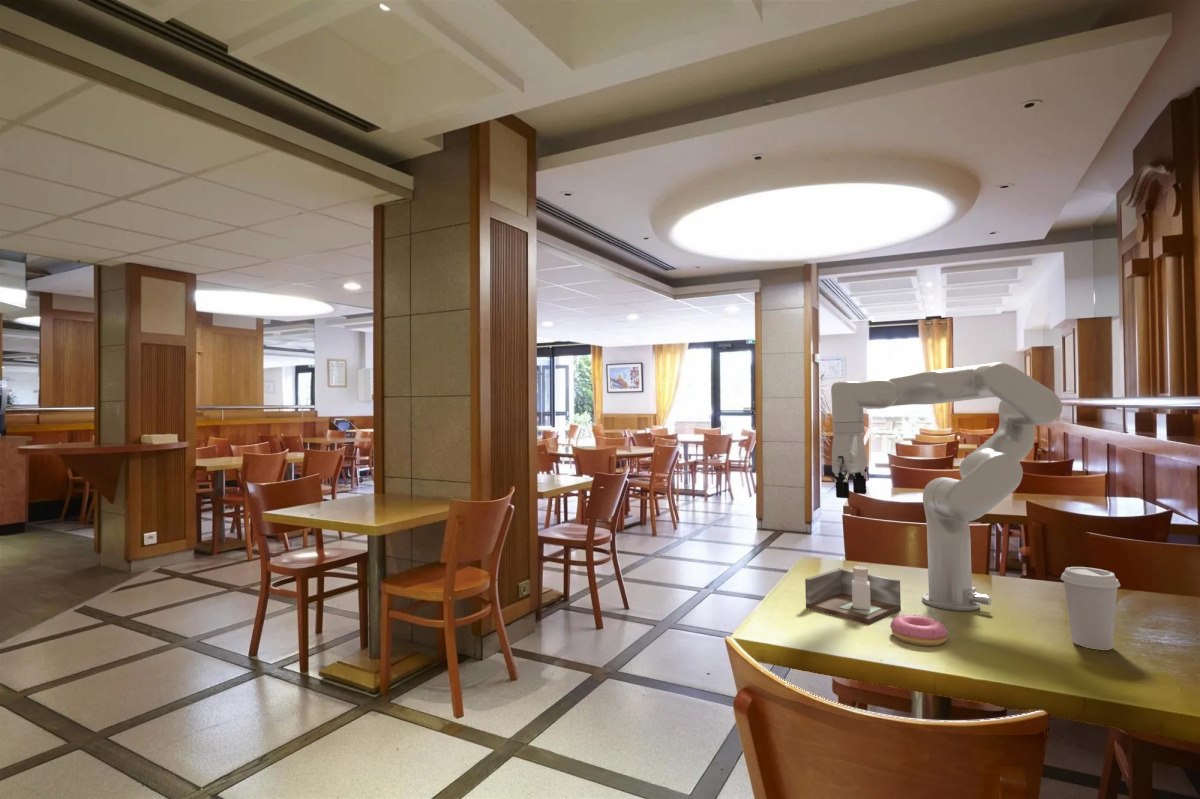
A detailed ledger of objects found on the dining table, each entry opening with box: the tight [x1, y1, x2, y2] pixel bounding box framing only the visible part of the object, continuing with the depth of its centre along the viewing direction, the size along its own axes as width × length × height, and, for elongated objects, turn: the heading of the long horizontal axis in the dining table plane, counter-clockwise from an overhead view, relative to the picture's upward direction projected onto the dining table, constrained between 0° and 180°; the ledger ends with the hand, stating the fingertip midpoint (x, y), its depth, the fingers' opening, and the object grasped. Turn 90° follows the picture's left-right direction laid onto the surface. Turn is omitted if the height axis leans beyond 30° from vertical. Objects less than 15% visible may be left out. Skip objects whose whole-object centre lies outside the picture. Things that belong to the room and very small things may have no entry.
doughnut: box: [889, 614, 949, 647], centre depth 130 cm, size 11×11×4 cm
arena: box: [804, 568, 902, 625], centre depth 150 cm, size 16×16×7 cm
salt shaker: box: [852, 565, 871, 610], centre depth 147 cm, size 4×4×10 cm
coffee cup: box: [1060, 566, 1121, 650], centre depth 125 cm, size 10×10×15 cm
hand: (851, 495), depth 156 cm, fingers open, 9 cm apart
